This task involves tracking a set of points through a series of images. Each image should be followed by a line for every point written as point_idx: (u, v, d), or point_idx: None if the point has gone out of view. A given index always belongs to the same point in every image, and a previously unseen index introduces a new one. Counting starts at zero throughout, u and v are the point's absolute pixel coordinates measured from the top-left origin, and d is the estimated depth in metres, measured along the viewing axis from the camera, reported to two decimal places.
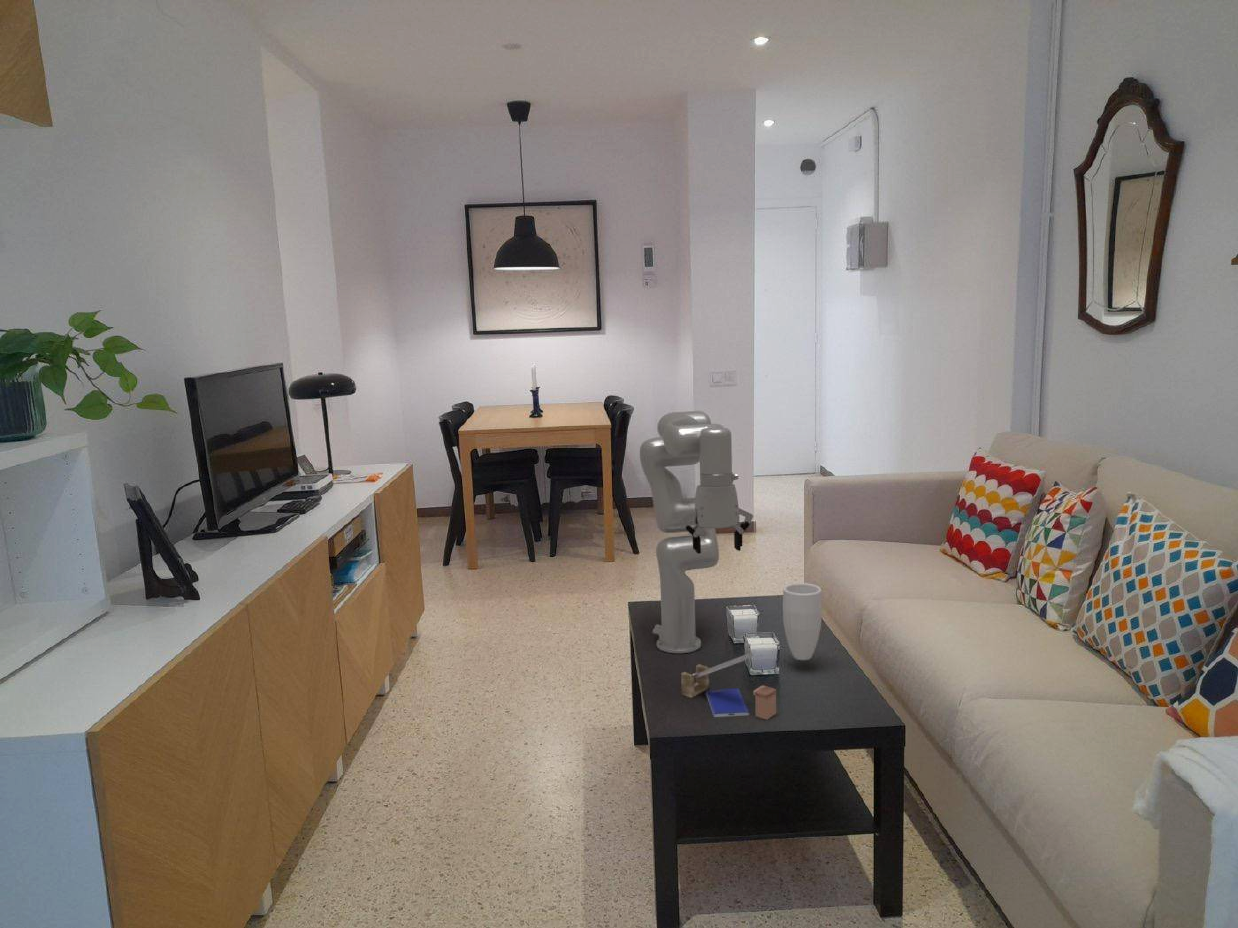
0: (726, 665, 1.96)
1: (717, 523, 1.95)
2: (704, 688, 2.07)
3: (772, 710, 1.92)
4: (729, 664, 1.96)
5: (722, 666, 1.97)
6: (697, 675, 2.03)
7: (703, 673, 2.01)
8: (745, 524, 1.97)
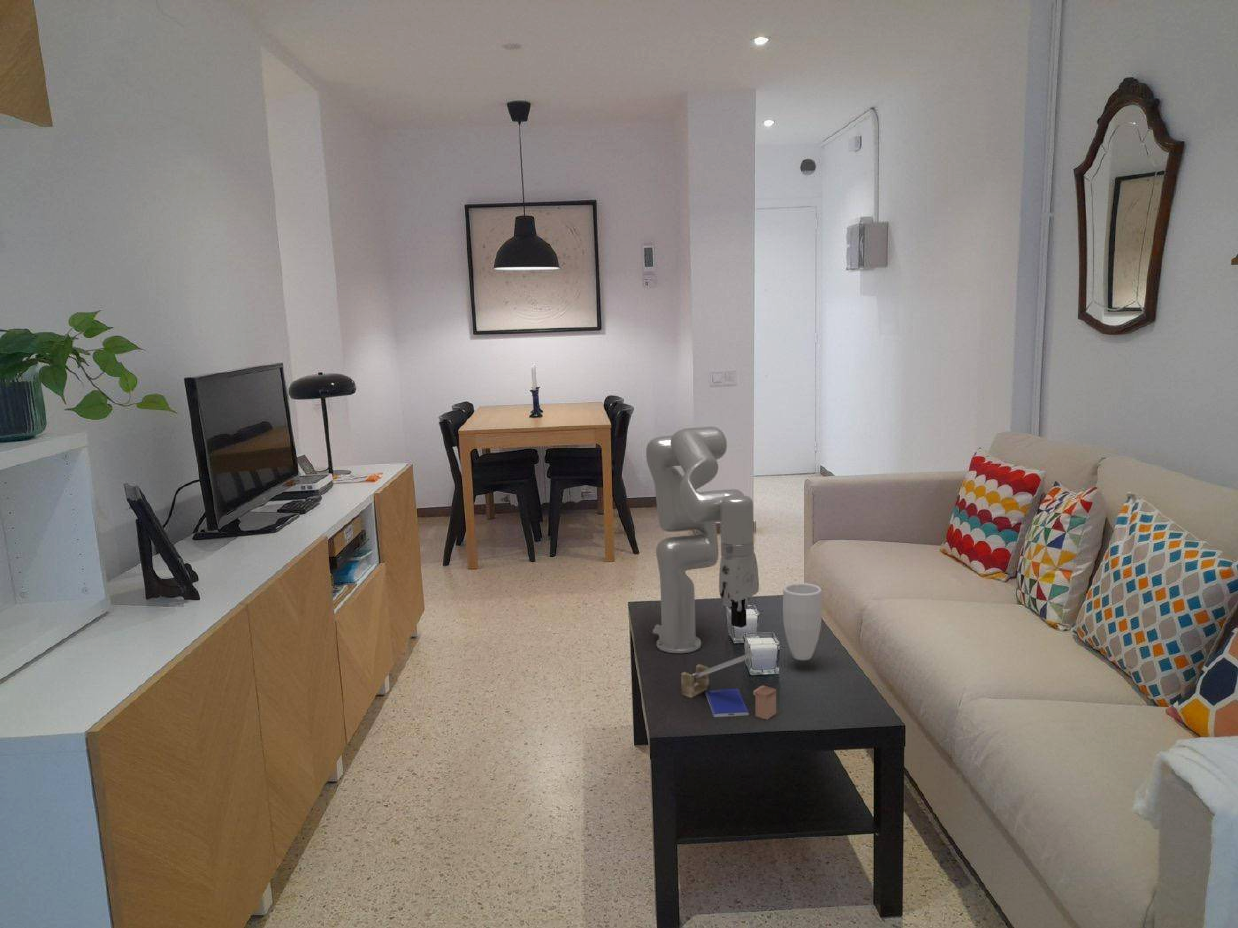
0: (726, 665, 1.96)
1: None
2: (704, 688, 2.07)
3: (772, 710, 1.92)
4: (729, 664, 1.96)
5: (722, 666, 1.97)
6: (697, 675, 2.03)
7: (703, 673, 2.01)
8: None
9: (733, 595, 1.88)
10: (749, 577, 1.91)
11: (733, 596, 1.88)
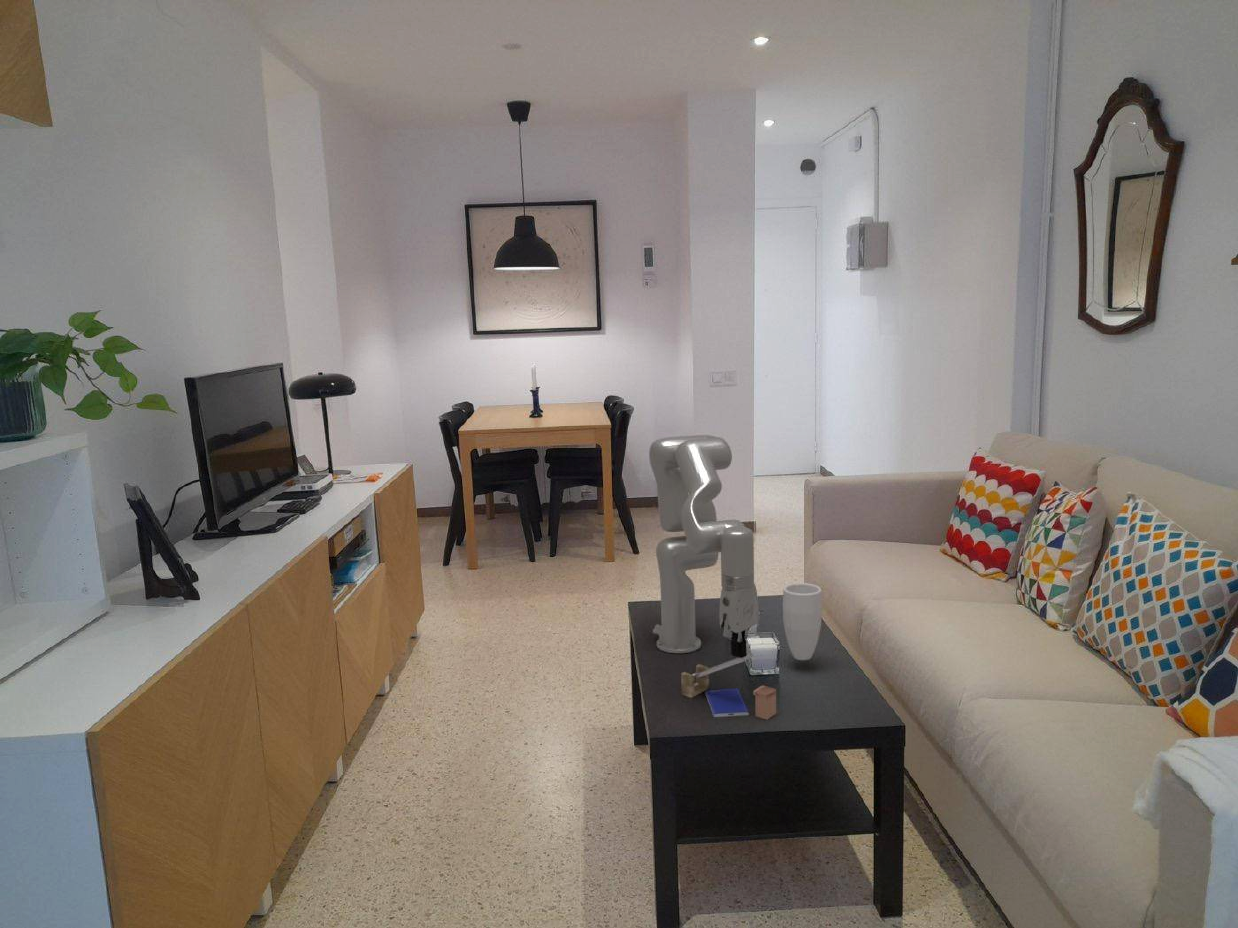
0: (726, 665, 1.96)
1: None
2: (704, 688, 2.07)
3: (772, 710, 1.92)
4: (729, 664, 1.96)
5: (722, 666, 1.97)
6: (697, 675, 2.03)
7: (703, 673, 2.01)
8: None
9: (733, 627, 1.89)
10: (749, 608, 1.92)
11: (733, 628, 1.89)
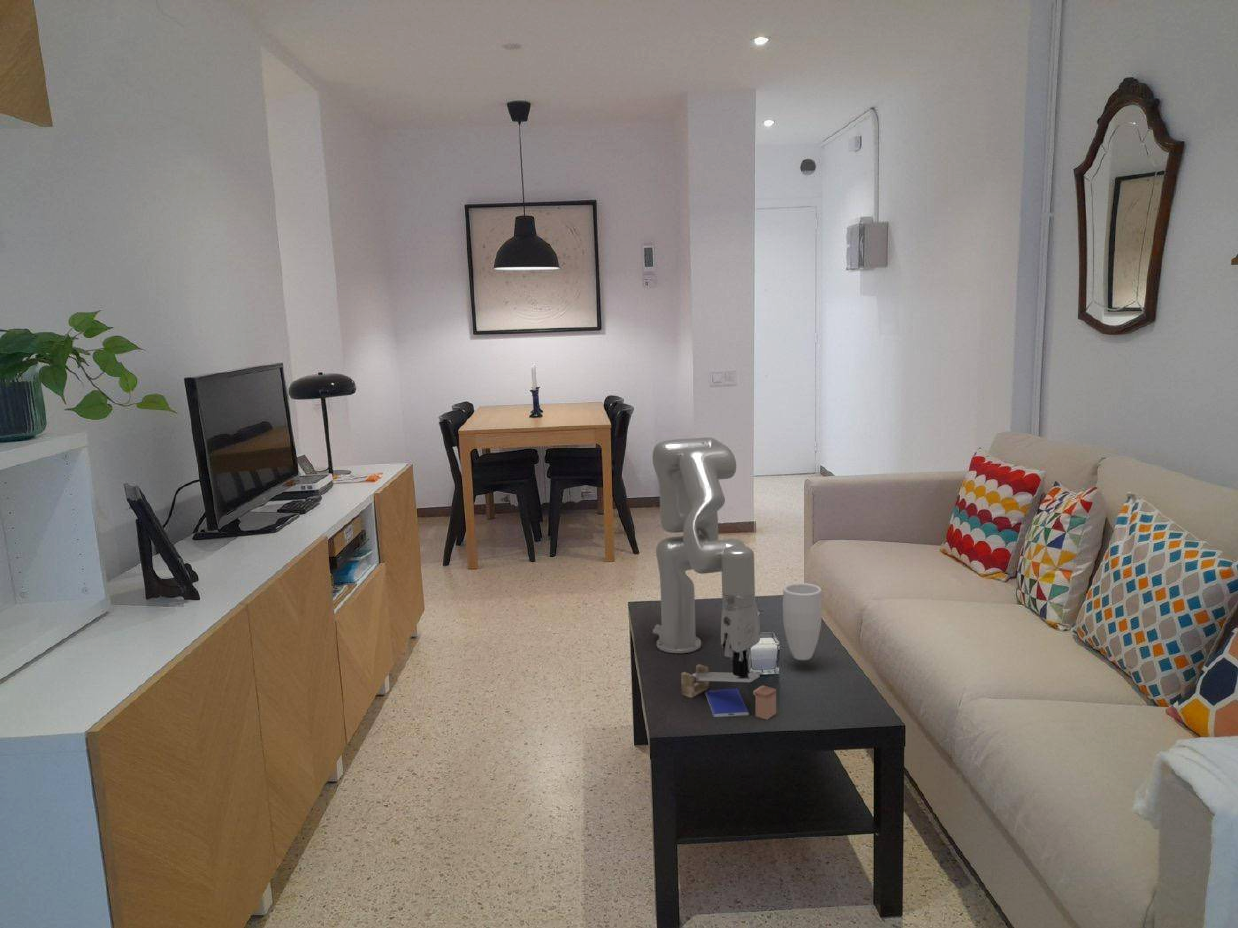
0: (731, 680, 1.96)
1: None
2: (704, 688, 2.07)
3: (772, 710, 1.92)
4: (734, 680, 1.95)
5: (726, 679, 1.97)
6: (698, 678, 2.03)
7: (705, 678, 2.01)
8: None
9: (735, 646, 1.90)
10: (750, 627, 1.93)
11: (734, 647, 1.90)
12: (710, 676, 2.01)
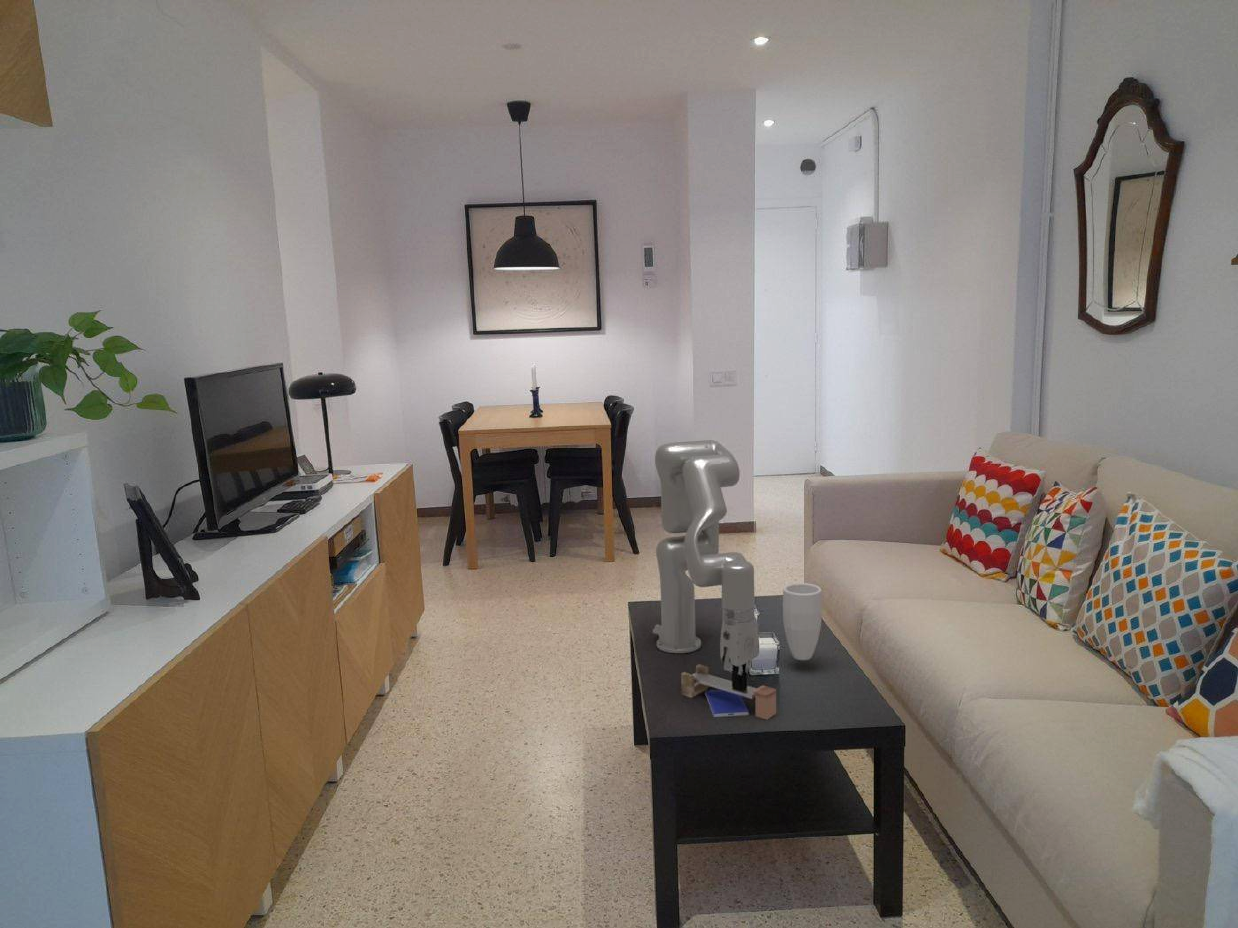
0: (732, 691, 1.96)
1: None
2: (704, 688, 2.07)
3: (772, 710, 1.92)
4: (736, 692, 1.95)
5: (728, 689, 1.97)
6: (698, 680, 2.03)
7: (705, 683, 2.01)
8: None
9: (734, 660, 1.90)
10: (750, 641, 1.94)
11: (733, 662, 1.90)
12: (711, 681, 2.01)
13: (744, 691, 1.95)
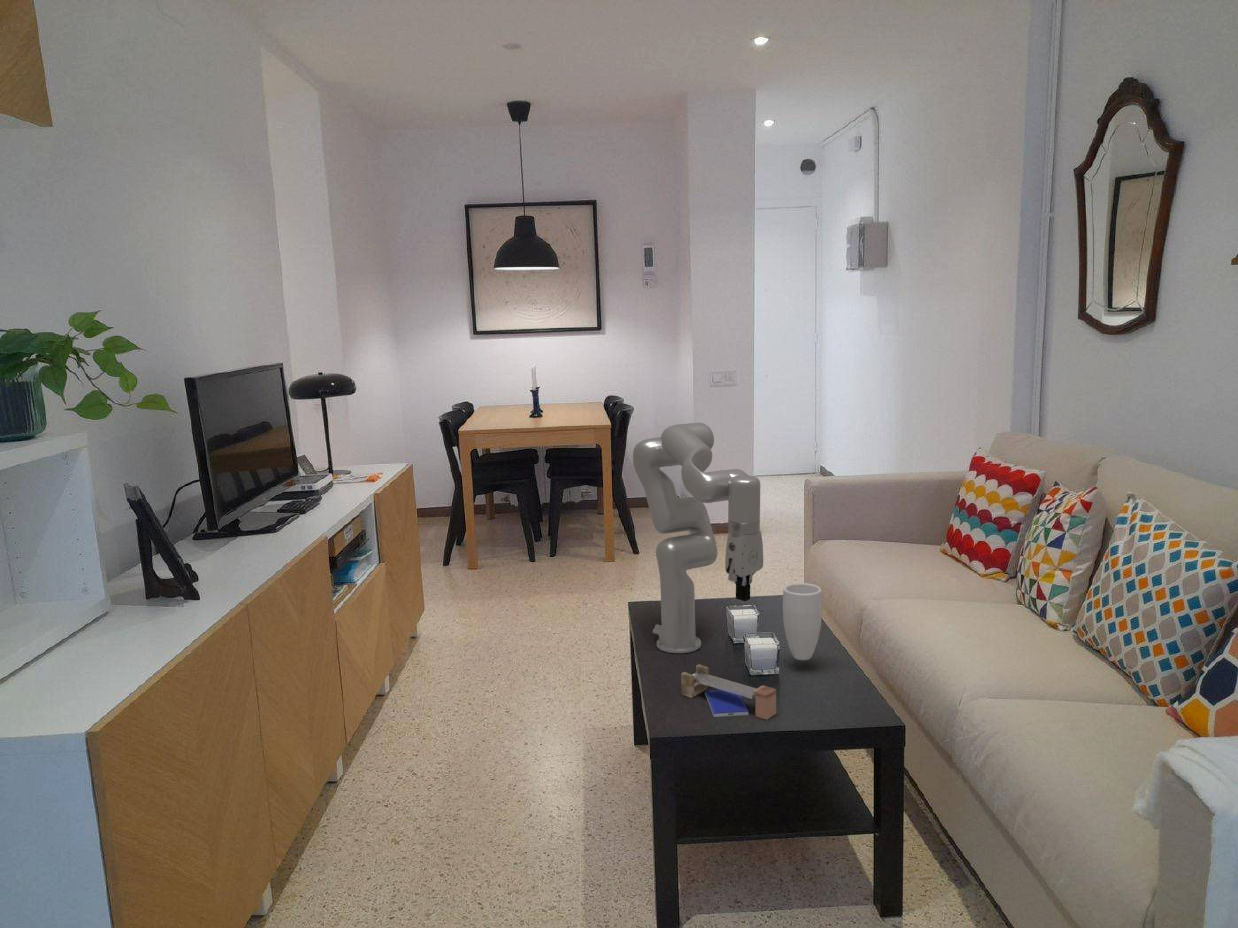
0: (732, 691, 1.96)
1: None
2: (704, 688, 2.07)
3: (772, 710, 1.92)
4: (736, 692, 1.95)
5: (728, 689, 1.97)
6: (698, 680, 2.03)
7: (705, 683, 2.01)
8: None
9: (738, 571, 1.97)
10: (754, 554, 2.00)
11: (738, 572, 1.97)
12: (711, 681, 2.01)
13: (744, 691, 1.95)
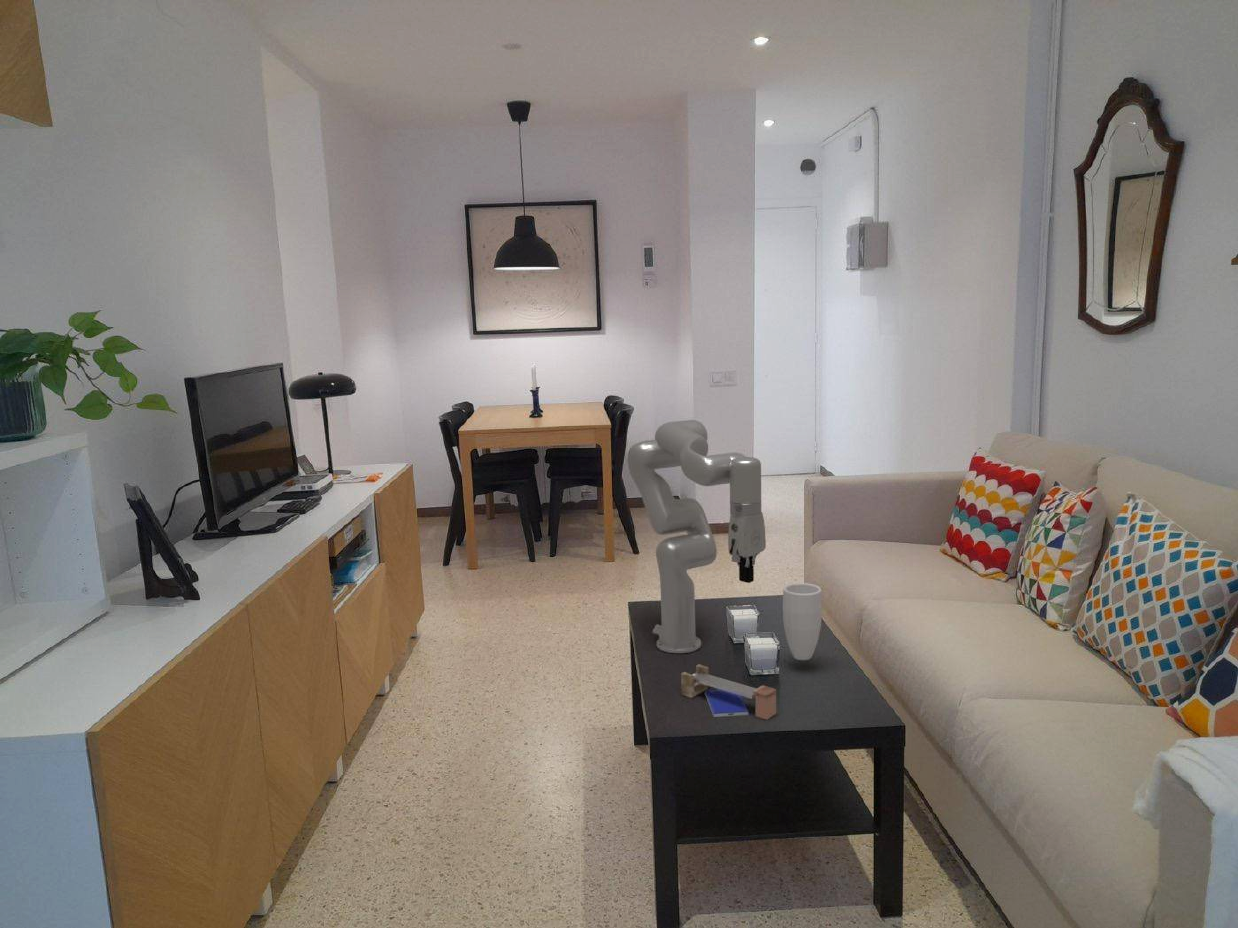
0: (732, 691, 1.96)
1: None
2: (704, 688, 2.07)
3: (772, 710, 1.92)
4: (736, 692, 1.95)
5: (728, 689, 1.97)
6: (698, 680, 2.03)
7: (705, 683, 2.01)
8: None
9: (741, 551, 1.98)
10: (757, 535, 2.02)
11: (741, 553, 1.99)
12: (711, 681, 2.01)
13: (744, 691, 1.95)
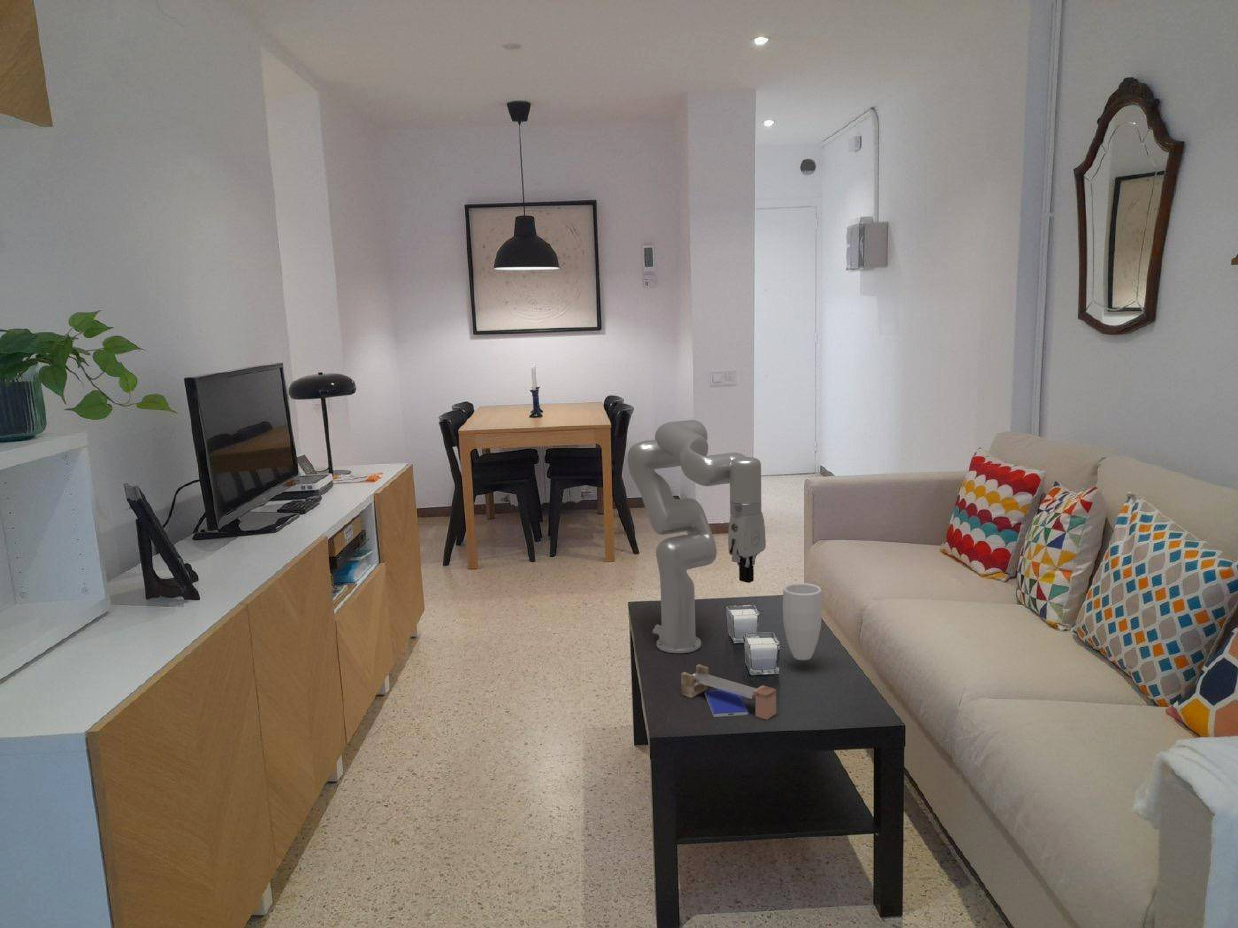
0: (732, 691, 1.96)
1: None
2: (704, 688, 2.07)
3: (772, 710, 1.92)
4: (736, 692, 1.95)
5: (728, 689, 1.97)
6: (698, 680, 2.03)
7: (705, 683, 2.01)
8: None
9: (741, 551, 1.98)
10: (757, 535, 2.02)
11: (741, 552, 1.99)
12: (711, 681, 2.01)
13: (744, 691, 1.95)
